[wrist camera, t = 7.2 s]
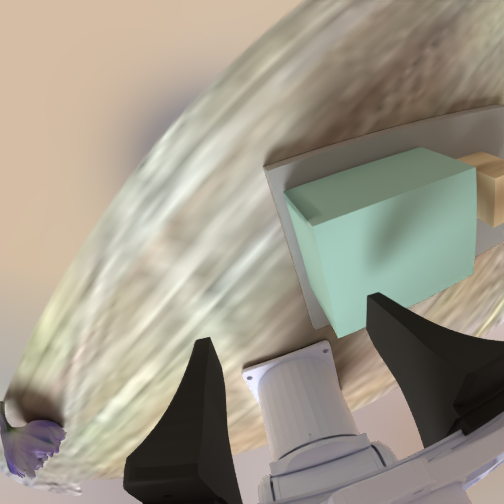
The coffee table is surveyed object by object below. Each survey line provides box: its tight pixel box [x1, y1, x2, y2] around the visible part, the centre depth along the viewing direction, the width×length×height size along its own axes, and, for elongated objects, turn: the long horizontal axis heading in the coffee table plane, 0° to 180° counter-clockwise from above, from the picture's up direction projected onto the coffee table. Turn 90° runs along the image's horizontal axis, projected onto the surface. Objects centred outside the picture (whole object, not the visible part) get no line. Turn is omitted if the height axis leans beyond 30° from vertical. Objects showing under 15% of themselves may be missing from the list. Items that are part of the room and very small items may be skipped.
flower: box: [0, 401, 66, 479], centre depth 25 cm, size 9×9×10 cm
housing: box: [283, 147, 477, 339], centre depth 18 cm, size 7×10×5 cm
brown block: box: [456, 151, 504, 228], centre depth 18 cm, size 4×4×5 cm
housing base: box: [263, 104, 504, 330], centre depth 20 cm, size 13×22×4 cm, turn 108°
